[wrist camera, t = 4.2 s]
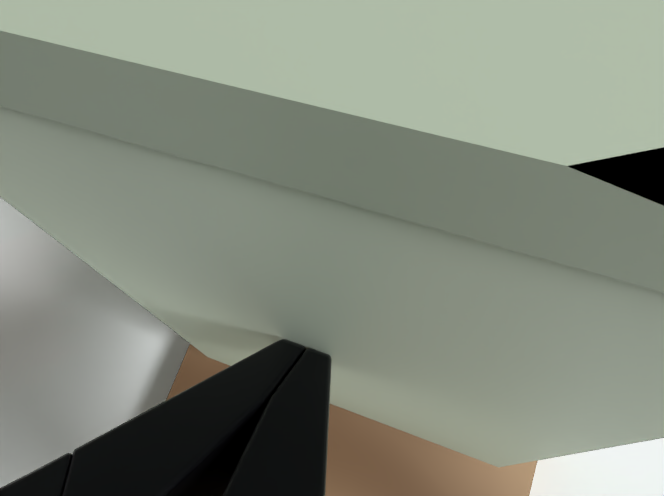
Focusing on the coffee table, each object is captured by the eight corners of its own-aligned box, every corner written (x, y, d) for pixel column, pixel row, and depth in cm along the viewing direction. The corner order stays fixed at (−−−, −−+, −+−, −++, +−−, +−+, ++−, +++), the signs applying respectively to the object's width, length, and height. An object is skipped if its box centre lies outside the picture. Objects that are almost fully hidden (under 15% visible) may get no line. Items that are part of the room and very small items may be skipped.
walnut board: (432, 848, 12) (435, 887, 11) (78, 646, 14) (54, 663, 13) (566, 300, 15) (577, 293, 14) (260, 208, 17) (252, 197, 16)
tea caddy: (501, 473, 12) (1384, 363, 1) (203, 359, 14) (-359, -55, 3) (562, 195, 15) (987, -486, 5) (311, 131, 17) (201, -459, 6)
